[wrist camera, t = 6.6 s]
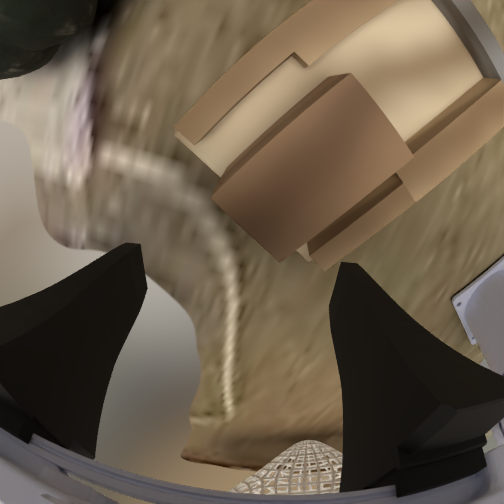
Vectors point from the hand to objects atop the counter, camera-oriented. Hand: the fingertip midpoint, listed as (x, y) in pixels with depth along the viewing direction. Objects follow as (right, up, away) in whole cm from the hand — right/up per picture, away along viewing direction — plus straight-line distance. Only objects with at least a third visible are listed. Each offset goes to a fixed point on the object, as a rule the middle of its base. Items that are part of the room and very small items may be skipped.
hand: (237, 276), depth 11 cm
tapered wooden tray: (+7, +10, +4) cm, 13 cm away
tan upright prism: (+3, +7, +6) cm, 9 cm away
